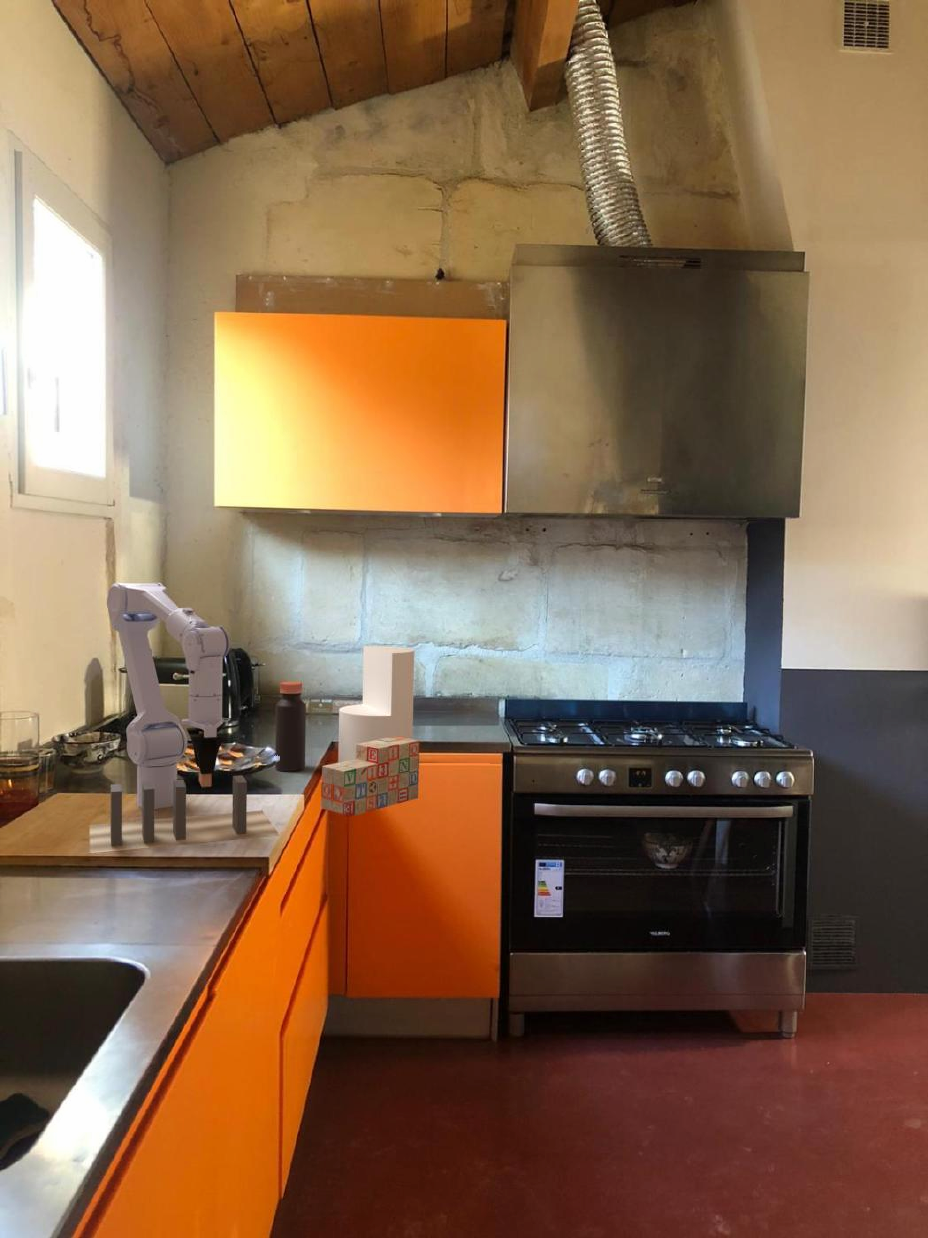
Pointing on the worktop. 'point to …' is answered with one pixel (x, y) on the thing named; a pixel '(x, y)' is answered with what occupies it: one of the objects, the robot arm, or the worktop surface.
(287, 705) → the bottle
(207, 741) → the robot arm
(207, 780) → the domino
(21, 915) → the worktop surface
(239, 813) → the end domino
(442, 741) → the worktop surface
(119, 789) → the domino
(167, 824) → the birch board
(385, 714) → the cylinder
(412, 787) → the stack of blocks
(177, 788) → the domino
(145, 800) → the domino
